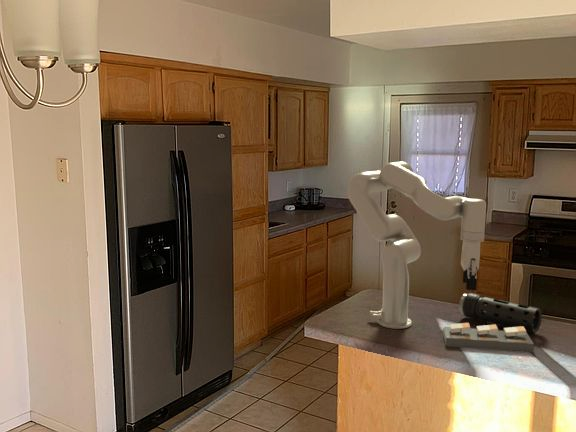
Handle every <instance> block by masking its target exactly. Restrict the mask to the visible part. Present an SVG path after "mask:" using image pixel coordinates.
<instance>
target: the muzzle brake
mask: <svg viewBox="0 0 576 432" xmlns="http://www.w3.org/2000/svg"><path fill="white" fill-rule="evenodd" d="M458 304H459V305H458V309H459V310H458V311H459V313H460V314H461V315H463V316H464V317H466V318H469V319H473V320H476V321H477V322H479V323H483V324H487V323H490V324H493V325H494V324H496V325H498V326H500V327H501V328H509V327H520V326H523V327H524V328H525V330H526V332H527V334H528V335H531V336H534V335H536V334H537V332H538V331H539V329H540V327H541V324H542V318H543V314H542V310H541V308H539V307H534V306H529V305H525V304H519V303H516V302H511V301H508V300H502V299H497V298H493V297H488V296H483V295H481V294H478V293H473V292H469V293H467V292H466V293H463V294H462V296H461V297H460V300H459V303H458Z"/></svg>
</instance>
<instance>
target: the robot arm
mask: <svg viewBox="0 0 576 432" xmlns="http://www.w3.org/2000/svg"><path fill="white" fill-rule="evenodd" d="M390 189H393V190H396V191H397V192H399V193H401V194H403V195H404V196H406V197H408V198H409V199H411V200H412V201H413V203H414V204H416V206H417V207H418V208H419V209H420V210H422V211H423V212H425V213H426V214H428V215H430V216H432V218H435V219H436V220H437V219H438V220H441V221H450V220H452V219H453V220H454V219H458V218H461V225H460V240H461V241H462V245H461V257H460V266H461V268H462V269H463V271H462V273H463V274H462V283H464V284H465V289H466V290H467V291H476V290H477V283H478V276H477V273H478V271H479V270H480V260H481V259H480V258H481V243H483V242H484V241H485V232H486V231H485V229H486V216H487V214H486V213H487V202H486V200H484V199H480V198H468V197H463V196H460V195H452V196H447V197H443V196H441V195H440V194H437V193H436V192H434V191H432V190H431V189H430V188H428V186H427V180H426V178H424V177H423V176H421V175H419V174H417V173H415V172H414V170H413V167H412V166H411V164H410V163H408V162H405V161H394V162H392V161H391V162H387V163H386V164H384V165H383V166H382V167H381V169H377V170H370V171H360V172H359V173H356V174H354V175H352V177H351V178H350V179H349V181H348V184H347V196H348V200H349V201H350V202H349V203H351V205H352V206H353V208H354V209H355V210H356V212H357V213H358V215H359V217H360V218H361V220H362V222H363V224H364V225H365V227H366V228H367V230H368V231H369V233H370V235H371V236H372V238H373V239H374V240H375V241H377V242H380V243H381V242H382V243H383V242H387V241H388V243H387V244H386V245H385V246H384V247H383V249H382V251H381V263H382V268H383V269H382V273H383V274H382V301H381V302H382V305H381V306H382V307H381V309H380V310H378V311H377V310H376V311H375V310H370V311H369V316H370V317H372V318H375V319H377V324H379V326H381V327H384V328H388V329H395V330H397V329H398V330H399V329H407V328H409V327H411V326H413V325H412V323H413V322H412V320H411V319H410V318H409V317H408V314H409V296H410V295H409V293H410V291H409V290H410V274H409V269H408V264H410V263H413V262H416V261H418V259H419V258H420V257H421V254H422V249H421V248H422V247H421V245H420V242H419V241H418V239H417V237H416V236H415V234H414V233H413V231H412V230H411V228H410V227H409V225H408V224H407V223H406V221H405V219H403V217H401V216H400V215H397V214H395V213H393V214H392V213H391V214H387V213H385V211H384V210H383V208H382V207H381V204H379V202H378V201H377V200H376V199H375V198H374V197H373V196H372V195H371V194H375V193H381V192H384V191H385V192H386V191H388V190H390ZM389 241H390V242H389Z"/></svg>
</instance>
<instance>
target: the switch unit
mask: <svg viewBox="0 0 576 432" xmlns="http://www.w3.org/2000/svg"><path fill="white" fill-rule="evenodd" d="M470 329H471V331H464V332H453V333H451V330H450V326H443V327H442V336H443V341H444V345H445V347H449V348H451V347H452V348H462V349H463V348H466V349H479V350H491V351H504V352H505V351H507V352H517V353H518V352H520V353H530V354H531V353H534V347H535V344H534V342H533V340H532V338H531V337H530V336H529V334H528V333H527V332H526V334H527V335H517V336H506V334H505V333H504V330H500V329H498V333H490V334H478V332H477V328H470Z"/></svg>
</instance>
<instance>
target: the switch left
mask: <svg viewBox="0 0 576 432" xmlns="http://www.w3.org/2000/svg"><path fill="white" fill-rule="evenodd" d="M449 327H450V330H451V333H453V332H464V331H471V329H472V328H471V326H470V323H469V322H461V323H451V324H449Z"/></svg>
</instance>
